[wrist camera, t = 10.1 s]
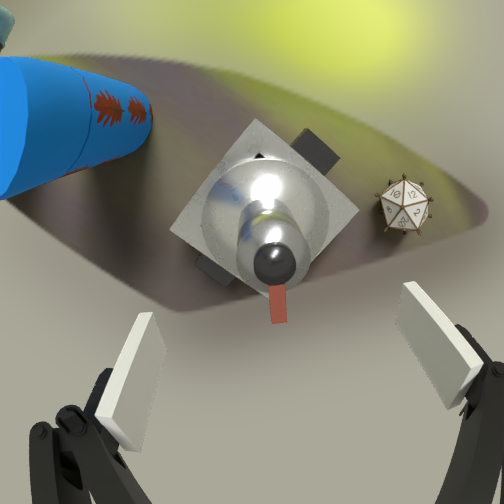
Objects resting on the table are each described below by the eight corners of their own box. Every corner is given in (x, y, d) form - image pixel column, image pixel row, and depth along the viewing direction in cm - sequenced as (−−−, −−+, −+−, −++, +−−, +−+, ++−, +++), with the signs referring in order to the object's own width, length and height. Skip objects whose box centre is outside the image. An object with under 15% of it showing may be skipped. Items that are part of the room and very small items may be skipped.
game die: (387, 202, 43) (413, 254, 38) (353, 193, 39) (380, 251, 34) (423, 167, 36) (456, 220, 31) (391, 150, 33) (429, 210, 28)
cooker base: (173, 224, 40) (155, 249, 32) (267, 105, 34) (274, 96, 25) (255, 282, 44) (257, 317, 36) (349, 177, 38) (376, 190, 29)
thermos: (159, 149, 36) (41, 185, 13) (93, 166, 36) (-37, 219, 13) (149, 75, 31) (30, 25, 8) (83, 97, 32) (-51, 95, 9)
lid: (199, 162, 31) (165, 187, 18) (314, 151, 31) (364, 167, 17) (216, 266, 36) (202, 344, 23) (319, 255, 36) (356, 326, 23)
